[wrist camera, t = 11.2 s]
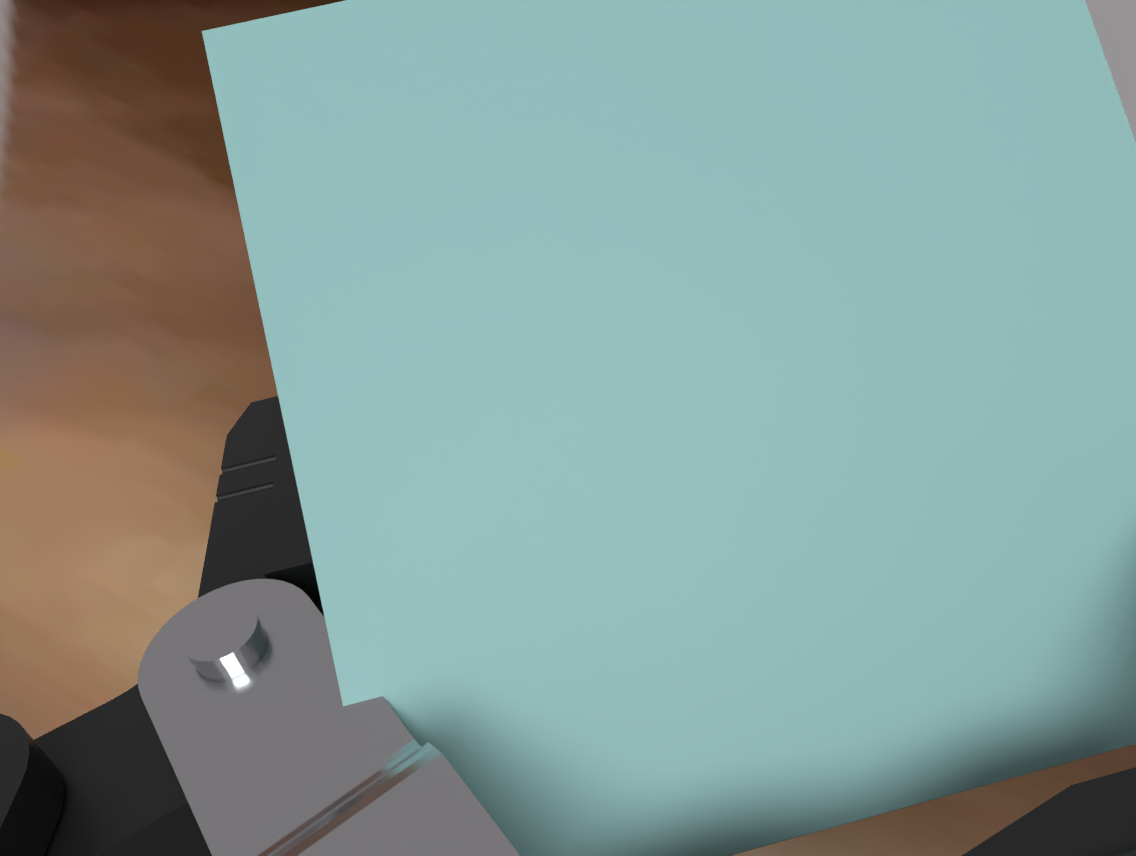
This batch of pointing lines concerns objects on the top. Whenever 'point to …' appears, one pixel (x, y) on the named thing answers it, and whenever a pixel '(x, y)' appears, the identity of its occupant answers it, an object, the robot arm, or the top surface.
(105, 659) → the top surface
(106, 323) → the top surface
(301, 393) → the teal square block
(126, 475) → the top surface
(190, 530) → the top surface
